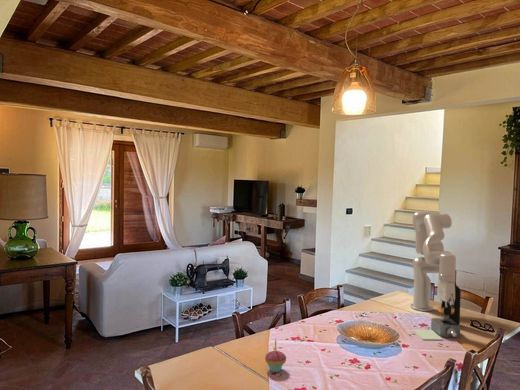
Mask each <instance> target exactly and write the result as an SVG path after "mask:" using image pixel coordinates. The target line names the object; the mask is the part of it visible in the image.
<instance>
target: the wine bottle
mask: <svg viewBox="0 0 520 390" xmlns="http://www.w3.org/2000/svg"><path fill="white" fill-rule="evenodd" d="M457 272H458V271H457V269H456V270H455V282H454V283H455V301H454V305H452V307H453V308H454V312H451V315H449V319H452V320H453V321H455V322H456V323H457V324H459V325H460V326H461V324H460V323H461V322H460V321H461V297H462V294H461V291H462V290H461V288H460V287H459V286H458V285H457ZM449 301H450V300H449ZM447 304H448V303H447Z"/></svg>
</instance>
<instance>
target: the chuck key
mask: <svg viewBox="0 0 520 390" xmlns="http://www.w3.org/2000/svg"><path fill="white" fill-rule="evenodd" d="M437 311H438V312H439V313H441V314H442V315H443V316H442V317H443V323H449V315H444V307H441V306H437ZM451 312H454V308H453V307H452V308H451Z"/></svg>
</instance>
